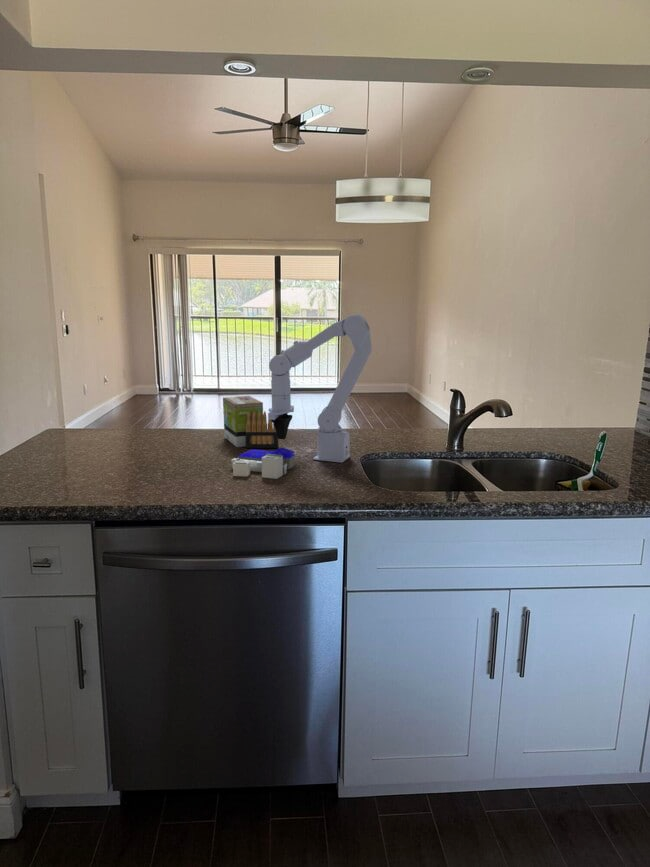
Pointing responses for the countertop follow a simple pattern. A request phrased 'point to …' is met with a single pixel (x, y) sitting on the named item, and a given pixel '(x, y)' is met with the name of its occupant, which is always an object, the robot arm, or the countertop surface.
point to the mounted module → (272, 466)
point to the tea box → (239, 417)
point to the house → (258, 454)
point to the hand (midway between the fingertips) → (282, 438)
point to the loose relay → (241, 468)
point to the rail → (257, 465)
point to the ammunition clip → (260, 432)
